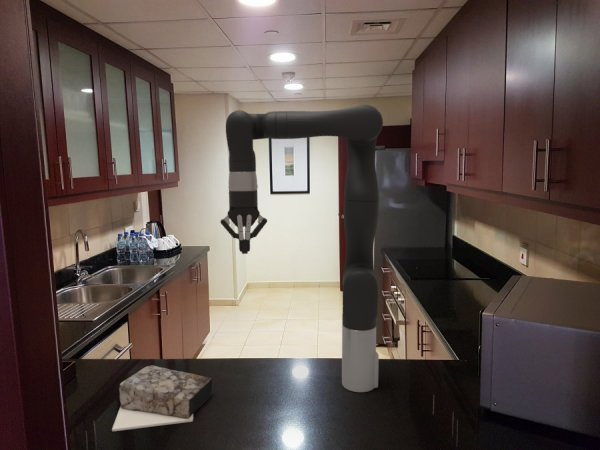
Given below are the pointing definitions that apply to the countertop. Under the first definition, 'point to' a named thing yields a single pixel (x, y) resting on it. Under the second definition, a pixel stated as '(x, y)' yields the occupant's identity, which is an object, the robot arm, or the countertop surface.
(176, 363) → the countertop surface
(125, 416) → the mat
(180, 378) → the stone block
